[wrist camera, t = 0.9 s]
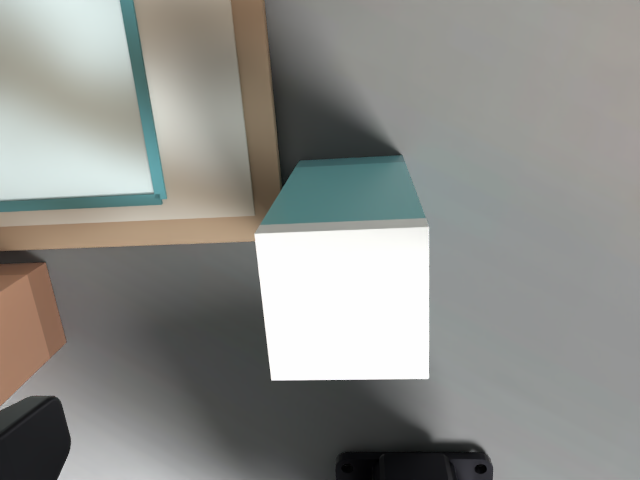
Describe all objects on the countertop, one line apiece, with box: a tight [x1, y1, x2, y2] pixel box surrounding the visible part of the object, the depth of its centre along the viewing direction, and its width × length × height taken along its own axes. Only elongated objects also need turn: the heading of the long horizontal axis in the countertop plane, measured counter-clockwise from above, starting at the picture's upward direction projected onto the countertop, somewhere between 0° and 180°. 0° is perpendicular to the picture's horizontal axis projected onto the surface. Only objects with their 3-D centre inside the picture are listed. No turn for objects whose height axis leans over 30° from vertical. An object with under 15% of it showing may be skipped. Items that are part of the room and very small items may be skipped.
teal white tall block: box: [254, 155, 429, 381], centre depth 15 cm, size 4×4×8 cm
